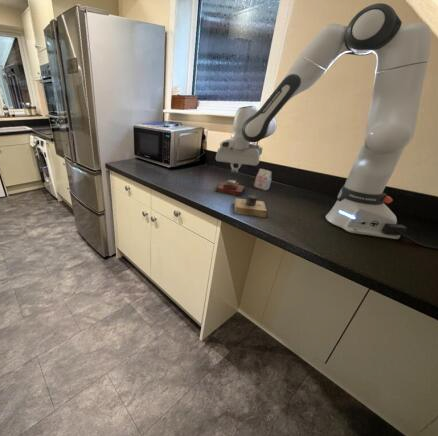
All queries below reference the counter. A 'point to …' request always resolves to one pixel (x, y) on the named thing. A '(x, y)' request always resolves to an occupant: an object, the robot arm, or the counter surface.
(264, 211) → the volume panel
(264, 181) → the small white box
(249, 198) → the volume dial
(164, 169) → the counter surface
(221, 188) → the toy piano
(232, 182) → the key
